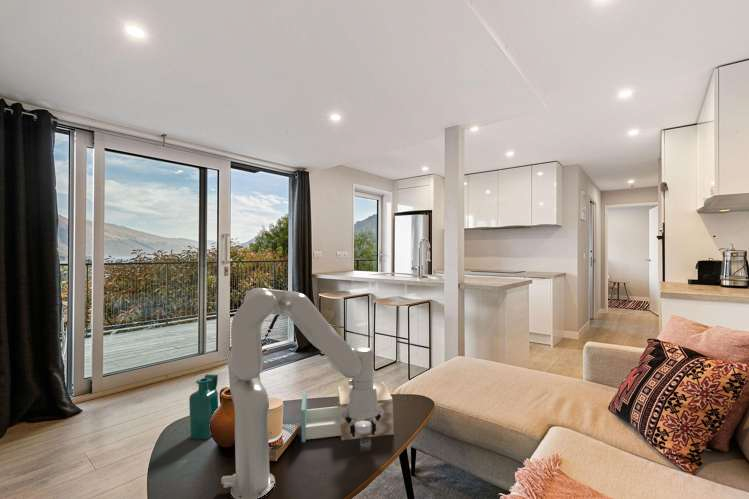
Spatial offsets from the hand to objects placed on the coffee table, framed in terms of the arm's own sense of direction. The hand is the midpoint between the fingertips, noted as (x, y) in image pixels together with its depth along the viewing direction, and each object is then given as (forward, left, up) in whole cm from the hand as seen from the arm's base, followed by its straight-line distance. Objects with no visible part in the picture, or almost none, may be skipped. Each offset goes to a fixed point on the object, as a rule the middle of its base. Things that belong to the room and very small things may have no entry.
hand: (363, 433), depth 123 cm
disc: (0, 0, +1) cm, 1 cm away
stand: (+1, 0, -6) cm, 6 cm away
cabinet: (+3, +17, -6) cm, 18 cm away
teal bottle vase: (-60, +25, -6) cm, 66 cm away
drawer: (-12, +17, -5) cm, 22 cm away
